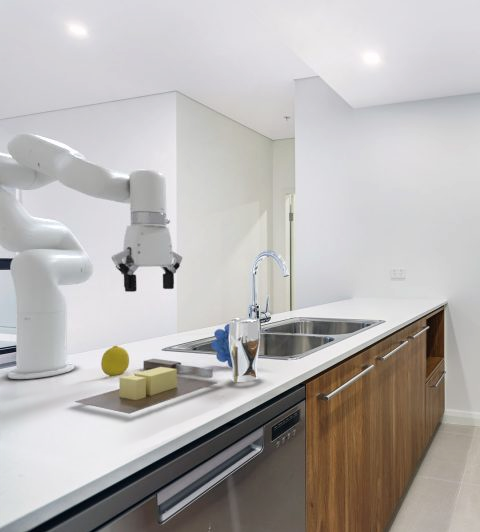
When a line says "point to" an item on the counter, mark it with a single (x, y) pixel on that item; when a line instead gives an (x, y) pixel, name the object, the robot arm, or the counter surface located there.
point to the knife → (177, 367)
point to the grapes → (222, 345)
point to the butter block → (159, 379)
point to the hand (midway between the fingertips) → (150, 290)
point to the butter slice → (132, 387)
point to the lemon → (115, 361)
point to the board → (129, 406)
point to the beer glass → (244, 348)
